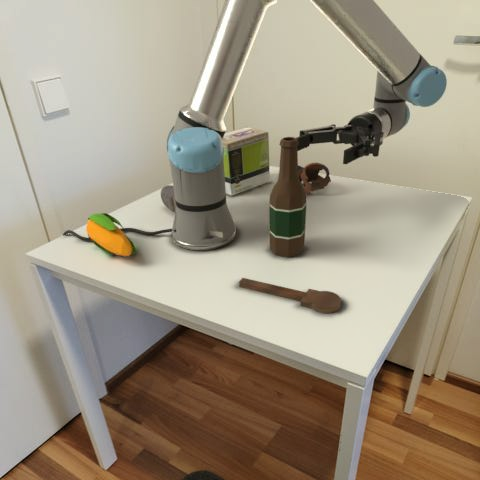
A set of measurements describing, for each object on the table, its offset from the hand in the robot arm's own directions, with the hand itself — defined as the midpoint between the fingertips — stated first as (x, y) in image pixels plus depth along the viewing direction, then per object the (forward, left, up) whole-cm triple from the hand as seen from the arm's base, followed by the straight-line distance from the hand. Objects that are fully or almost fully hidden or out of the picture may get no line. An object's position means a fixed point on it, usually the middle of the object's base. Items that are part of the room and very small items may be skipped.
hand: (316, 152), depth 95 cm
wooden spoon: (+5, -26, -19) cm, 33 cm away
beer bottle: (-3, -9, -19) cm, 22 cm away
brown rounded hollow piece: (-11, +28, -19) cm, 35 cm away
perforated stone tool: (-38, 0, -19) cm, 42 cm away
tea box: (-31, +23, -19) cm, 43 cm away
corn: (-40, -24, -19) cm, 50 cm away
